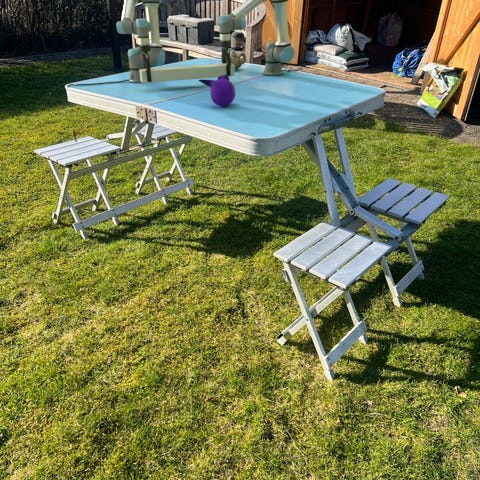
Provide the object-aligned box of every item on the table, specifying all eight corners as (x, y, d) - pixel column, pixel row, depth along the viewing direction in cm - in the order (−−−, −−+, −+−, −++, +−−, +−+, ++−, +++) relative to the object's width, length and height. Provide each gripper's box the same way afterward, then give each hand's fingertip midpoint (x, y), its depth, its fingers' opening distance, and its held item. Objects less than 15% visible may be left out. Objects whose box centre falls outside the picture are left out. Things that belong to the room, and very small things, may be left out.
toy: (221, 97, 287) (235, 112, 266) (195, 92, 280) (207, 107, 259) (227, 72, 279) (242, 85, 258) (201, 67, 272) (213, 80, 251)
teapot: (226, 72, 363) (226, 52, 355) (220, 70, 372) (219, 50, 364) (249, 69, 372) (249, 50, 365) (242, 67, 381) (241, 48, 373)
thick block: (142, 83, 300) (141, 71, 297) (140, 80, 309) (139, 69, 305) (234, 76, 317) (234, 65, 313) (231, 73, 325) (230, 62, 321)
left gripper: (152, 46, 286) (156, 82, 297) (147, 42, 305) (151, 76, 316) (140, 47, 284) (145, 83, 295) (136, 43, 303) (141, 77, 314)
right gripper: (235, 42, 300) (236, 76, 311) (226, 38, 318) (227, 71, 330) (224, 42, 298) (225, 77, 309) (216, 39, 317) (217, 72, 328)
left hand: (148, 80), depth 305 cm, fingers closed on thick block, 10 cm apart
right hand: (226, 74), depth 319 cm, fingers closed on thick block, 10 cm apart
